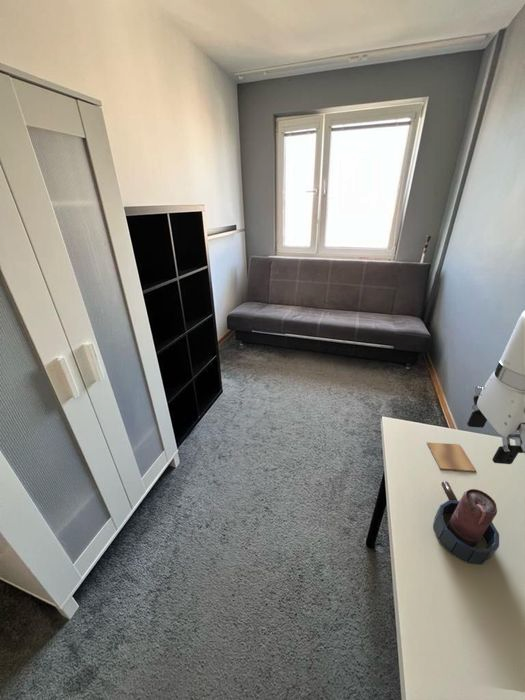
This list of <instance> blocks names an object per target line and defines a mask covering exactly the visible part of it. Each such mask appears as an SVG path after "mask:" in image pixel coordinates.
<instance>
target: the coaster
mask: <svg viewBox="0 0 525 700" xmlns="http://www.w3.org/2000/svg"><path fill="white" fill-rule="evenodd" d="M427 443H428V445H427V446H428V448H429V450H430V453H431V454H432V457H433V458H434V460H435V463H436V464H437V466H438V469H439V470H445V471H446V470H447V471H457V472H458V471H459V472H475V473H476V472H477V469H476V468H475V466H474V464H473V463H472V461H471V460H470V458H469V457H468V455H467V453H466V452H465V451H464V448H462V445H461V444H460V443H443V442H430V441H429V442H426V444H427Z"/></svg>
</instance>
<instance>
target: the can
mask: <svg viewBox="0 0 525 700" xmlns="http://www.w3.org/2000/svg"><path fill="white" fill-rule="evenodd" d="M459 501H460V502H459V504H458V506H457V508H456V510H455V511H454V513H453V515H451V517H450V519H449V521H448V523H447V525H446V526H447V528H448V529H449V530H450V532H451V533H452V534H453V535H454V536H455V537H456V538H457V539H458V540H460V541H462V542H464V543H465V544H467V545H469V546H471V547H473V548H476V547H477V545H478V543H479V542H480V540H481V539H482V538H483V534H484V533H485V531H486V529H487V528H488V526H489V525H490V523H491V522H492V523H493V520H494V519H495V518H496V516H497V513H498V507H497V503H496V502H495V500H494V498H492V497H491V495H490V494H488V493H486V492H484V491H482V490H479V489H476V488H471V489H470V488H469V489H468V490H466V491H464V493H463V494H462V496H461V498H460V500H459Z"/></svg>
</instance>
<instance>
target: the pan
mask: <svg viewBox="0 0 525 700" xmlns="http://www.w3.org/2000/svg"><path fill="white" fill-rule="evenodd" d="M441 487H442V489H443V491H444V493H445V495H446V497H447V499H448V500H447V501H445V502H443V503H441V504H440V505H439V508H438V510H437V512H436V513H435V516H434V518H433V519H434V520H433V524H432V529H433V531H434V533H435V536H436V538H437V540H438V542H439V543H440V544H441V545H442V546H443V548H445V550H446V551H447V552H448V553H449V554H451V555H452V556H453V557H455V558H457V559H459V560H460V561H462V562H464V563H467V564H474V565H484V564H485V563H486V562H488V561H489V560H490V559H491V558H492V557H493V556H494V554H495V553H496V551H498V549H499V547H500V533H499V532H498V529H497V528H496V526H495V524H494V523H493V521H492V522H491V523H490V525H489V526H488V528H487V529H486V531H485V533H484V534H483V536H482V538H483V540H484V542H485V543H486V548H481V547H480V548H479V547H471V546H469V545H467V544H465V543H464V542H462V541H460V540H458V539H457V538H456V537H455V536H454V535H453V534H452V533H451V532H450V530H449V529H448V528H447V525H446V521H445V520H444V516H452V515H453V513H454V511H455V510H456V508H457V506H458V504H459V502H460V500H459V499H457V497H456V495H455V492H454V491H453V489H452V487H451V485H450V483H449V482H448V481H446V480H443V481H441Z"/></svg>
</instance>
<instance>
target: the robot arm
mask: <svg viewBox="0 0 525 700" xmlns="http://www.w3.org/2000/svg"><path fill="white" fill-rule="evenodd" d="M472 399H473V405H472V408H471V409H472V412H471V414H470V417H469V419H468V421H467V423H466V425H467V426H468V427H470V428H481V429H483V428H484V427H485V425H486V423H487V422H488V423H489V424H490V425H491V426H492V428H493V429H494V430H495V431H496V432H497V433H498V434H499V435H500V436H501V442H502V446H498V448H497V450H496V452H495V453H494V455H493V457H492V459H491V460H492V462H493V463H494V464H502V465H512V464H513V463H514V461H515V459H516V458H517V456H518V454H525V310H524V311H522V313H521V314H520V316H519V318H518V320H517V322H516V324H515V327H514V328H513V331H512V333H511V335H510V337H509V339H508V342H507V343H506V346H505V348H504V350H503V353H502V354H501V357H500V359H499V362H498V363H497V366H496V368H495V370H493V372H492V373H491V375H490V376H489V377H488V379H487V381H486V382H485V384H484V386H475V387H474V396H473V398H472ZM511 439H514V444H515V445H514V444H511Z"/></svg>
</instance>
